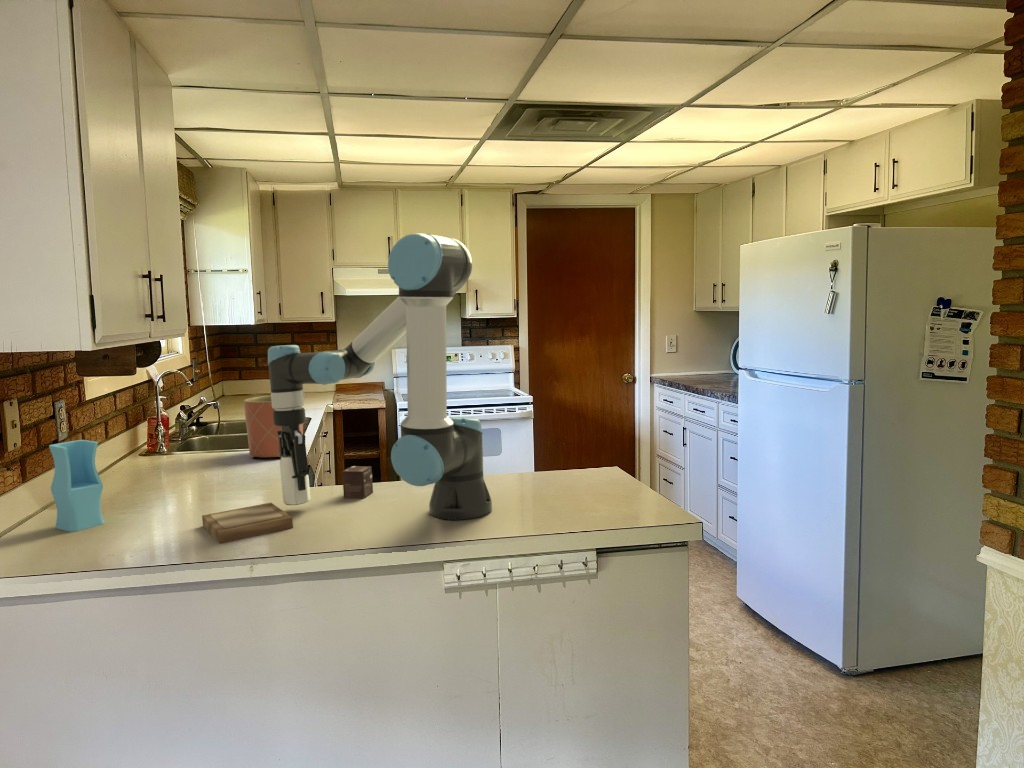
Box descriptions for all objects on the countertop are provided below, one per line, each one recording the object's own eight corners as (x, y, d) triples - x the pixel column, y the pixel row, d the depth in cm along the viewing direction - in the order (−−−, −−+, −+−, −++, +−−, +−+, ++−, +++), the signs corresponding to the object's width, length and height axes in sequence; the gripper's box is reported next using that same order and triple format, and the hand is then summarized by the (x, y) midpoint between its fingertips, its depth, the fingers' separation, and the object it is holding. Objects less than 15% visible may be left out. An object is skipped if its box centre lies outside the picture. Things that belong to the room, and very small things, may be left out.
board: (293, 527, 159) (292, 516, 159) (219, 543, 150) (218, 531, 150) (271, 512, 172) (270, 501, 172) (202, 525, 163) (202, 514, 162)
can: (316, 499, 173) (312, 452, 172) (298, 506, 168) (293, 457, 166) (296, 497, 176) (291, 451, 175) (277, 504, 170) (273, 456, 169)
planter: (236, 460, 234) (232, 402, 232) (265, 449, 253) (261, 394, 250) (289, 461, 231) (285, 401, 229) (314, 449, 250) (311, 394, 247)
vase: (71, 532, 161) (62, 448, 159) (55, 527, 165) (45, 445, 163) (106, 523, 168) (98, 441, 165) (89, 518, 172) (81, 439, 170)
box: (364, 498, 182) (362, 471, 181) (343, 498, 183) (341, 471, 182) (373, 492, 188) (372, 466, 187) (352, 492, 189) (351, 465, 188)
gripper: (317, 409, 164) (325, 504, 166) (291, 403, 180) (298, 490, 182) (286, 413, 160) (294, 511, 162) (261, 407, 175) (269, 496, 178)
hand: (296, 500), depth 172 cm, fingers closed on can, 6 cm apart
